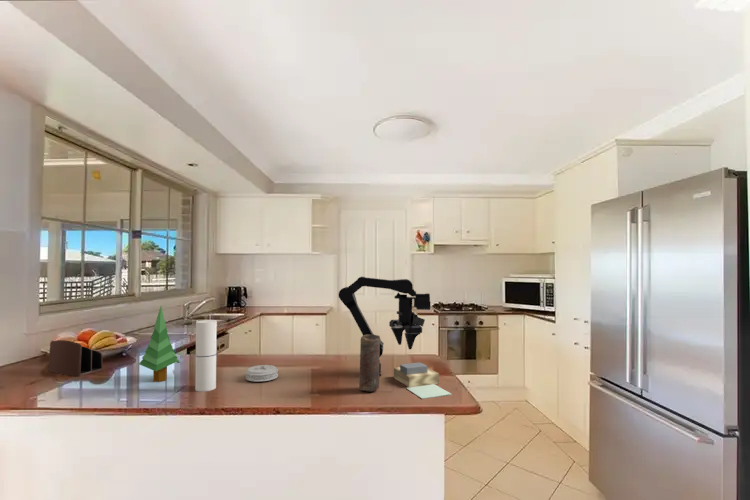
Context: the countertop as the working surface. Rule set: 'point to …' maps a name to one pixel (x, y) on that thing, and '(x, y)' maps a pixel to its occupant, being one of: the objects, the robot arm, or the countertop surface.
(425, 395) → the mat
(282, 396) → the countertop surface
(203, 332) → the cylindrical container
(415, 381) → the board
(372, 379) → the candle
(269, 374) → the lid
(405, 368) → the tile
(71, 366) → the letter holder
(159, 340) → the decorative tree
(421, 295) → the robot arm
